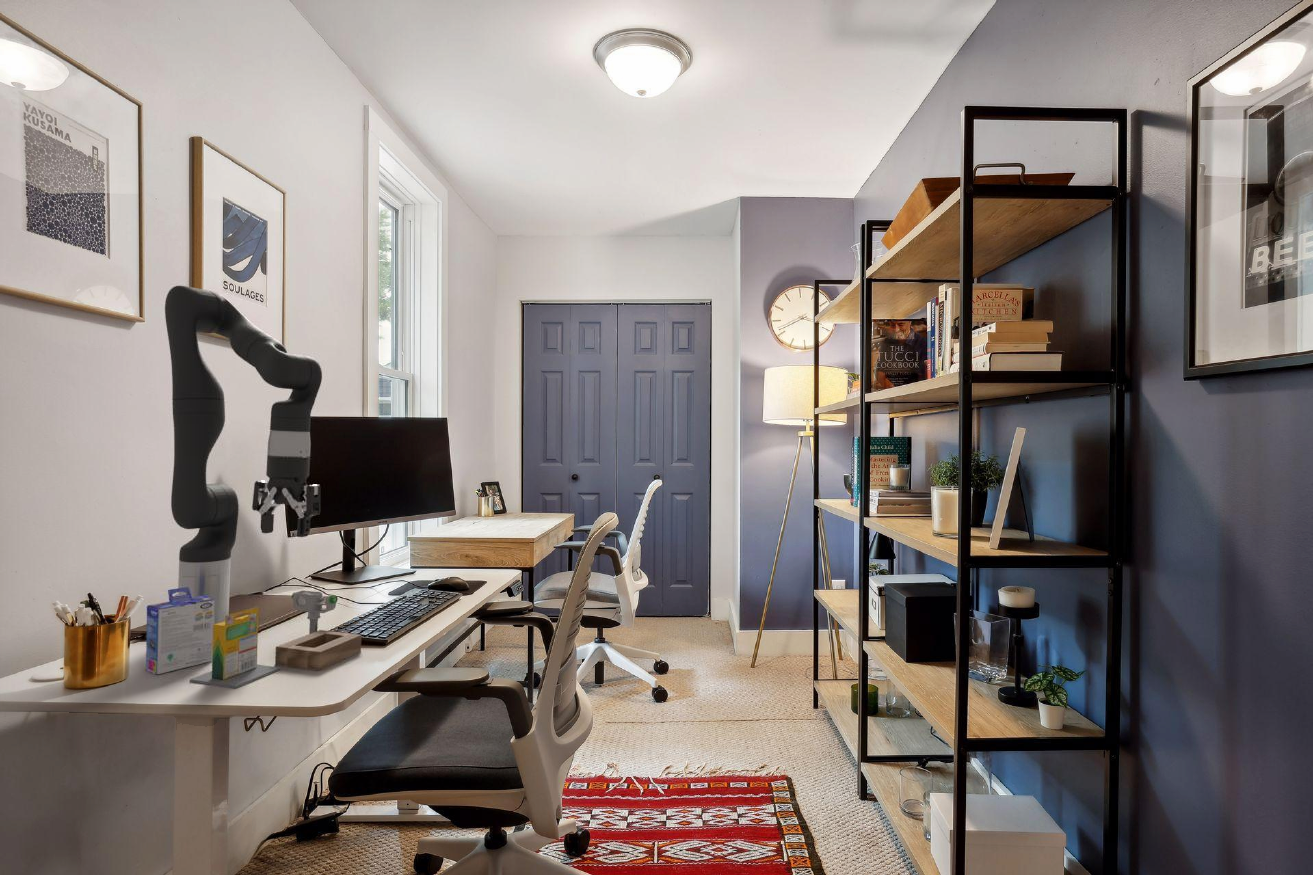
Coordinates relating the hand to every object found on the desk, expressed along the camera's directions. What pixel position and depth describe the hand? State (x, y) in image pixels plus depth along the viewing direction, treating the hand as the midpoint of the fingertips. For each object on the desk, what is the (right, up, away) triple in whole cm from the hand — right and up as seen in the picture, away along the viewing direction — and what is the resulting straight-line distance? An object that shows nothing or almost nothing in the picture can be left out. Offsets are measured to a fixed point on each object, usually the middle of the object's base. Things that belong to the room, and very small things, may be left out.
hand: (284, 534), depth 133 cm
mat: (-3, -25, -10) cm, 27 cm away
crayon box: (-4, -24, -10) cm, 26 cm away
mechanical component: (-1, -25, +13) cm, 28 cm away
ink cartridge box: (-17, -24, -6) cm, 30 cm away
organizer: (+6, -25, +1) cm, 26 cm away
